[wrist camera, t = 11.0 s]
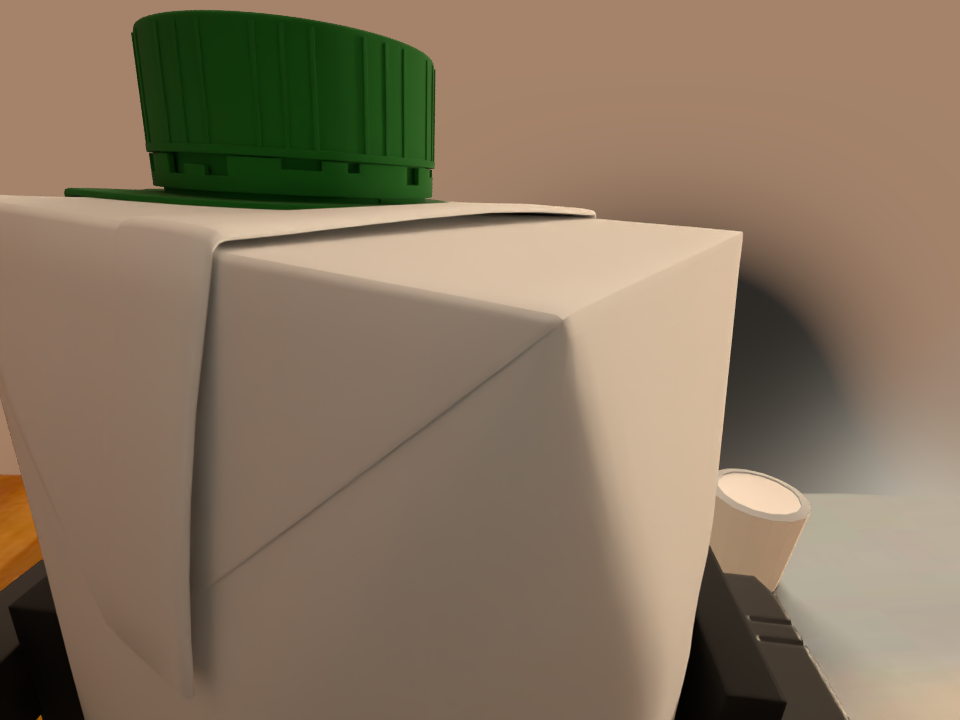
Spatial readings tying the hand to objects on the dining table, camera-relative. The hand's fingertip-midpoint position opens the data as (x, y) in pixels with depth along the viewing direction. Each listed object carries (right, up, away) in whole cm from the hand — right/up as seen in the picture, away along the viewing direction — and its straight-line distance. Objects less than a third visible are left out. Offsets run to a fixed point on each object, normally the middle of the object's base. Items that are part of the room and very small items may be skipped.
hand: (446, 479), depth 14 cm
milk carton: (-1, -12, -1) cm, 12 cm away
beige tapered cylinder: (+21, -13, +27) cm, 37 cm away
